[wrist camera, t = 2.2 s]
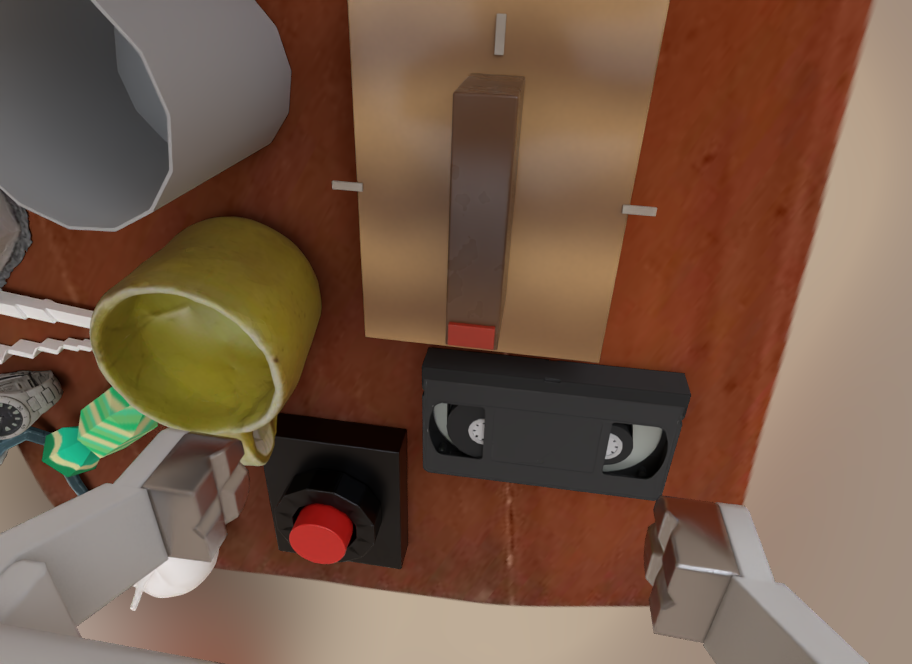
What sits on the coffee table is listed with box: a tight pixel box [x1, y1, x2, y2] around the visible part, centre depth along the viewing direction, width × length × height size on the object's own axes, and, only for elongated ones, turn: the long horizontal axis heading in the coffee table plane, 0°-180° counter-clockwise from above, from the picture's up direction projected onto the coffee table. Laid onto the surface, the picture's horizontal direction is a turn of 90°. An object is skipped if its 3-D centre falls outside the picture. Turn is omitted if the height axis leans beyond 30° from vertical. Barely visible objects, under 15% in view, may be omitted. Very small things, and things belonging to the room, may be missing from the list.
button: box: [289, 503, 353, 564], centre depth 37 cm, size 4×4×2 cm
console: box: [263, 413, 408, 569], centre depth 39 cm, size 11×9×4 cm
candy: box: [42, 387, 158, 477], centre depth 38 cm, size 12×3×4 cm
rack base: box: [332, 0, 670, 363], centre depth 27 cm, size 16×14×3 cm
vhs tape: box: [422, 348, 691, 501], centre depth 34 cm, size 14×8×2 cm, turn 89°
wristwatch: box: [0, 370, 64, 440], centre depth 38 cm, size 4×6×5 cm, turn 99°
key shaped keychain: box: [0, 288, 94, 364], centre depth 37 cm, size 13×5×2 cm, turn 81°
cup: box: [0, 0, 291, 232], centre depth 24 cm, size 8×8×10 cm
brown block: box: [445, 73, 525, 350], centre depth 24 cm, size 10×2×5 cm, turn 178°
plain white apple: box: [130, 549, 219, 611], centre depth 41 cm, size 7×7×8 cm
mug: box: [89, 216, 322, 466], centre depth 31 cm, size 12×10×10 cm
